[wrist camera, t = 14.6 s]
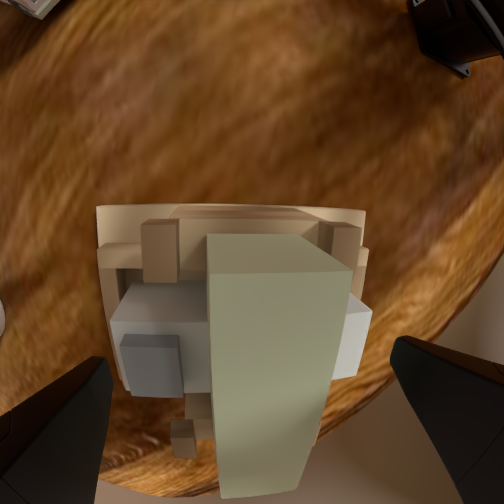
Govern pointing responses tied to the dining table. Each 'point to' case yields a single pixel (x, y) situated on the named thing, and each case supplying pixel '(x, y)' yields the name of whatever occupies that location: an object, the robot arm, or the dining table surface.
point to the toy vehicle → (33, 6)
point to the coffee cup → (2, 319)
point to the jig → (195, 263)
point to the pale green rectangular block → (270, 354)
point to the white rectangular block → (192, 338)
